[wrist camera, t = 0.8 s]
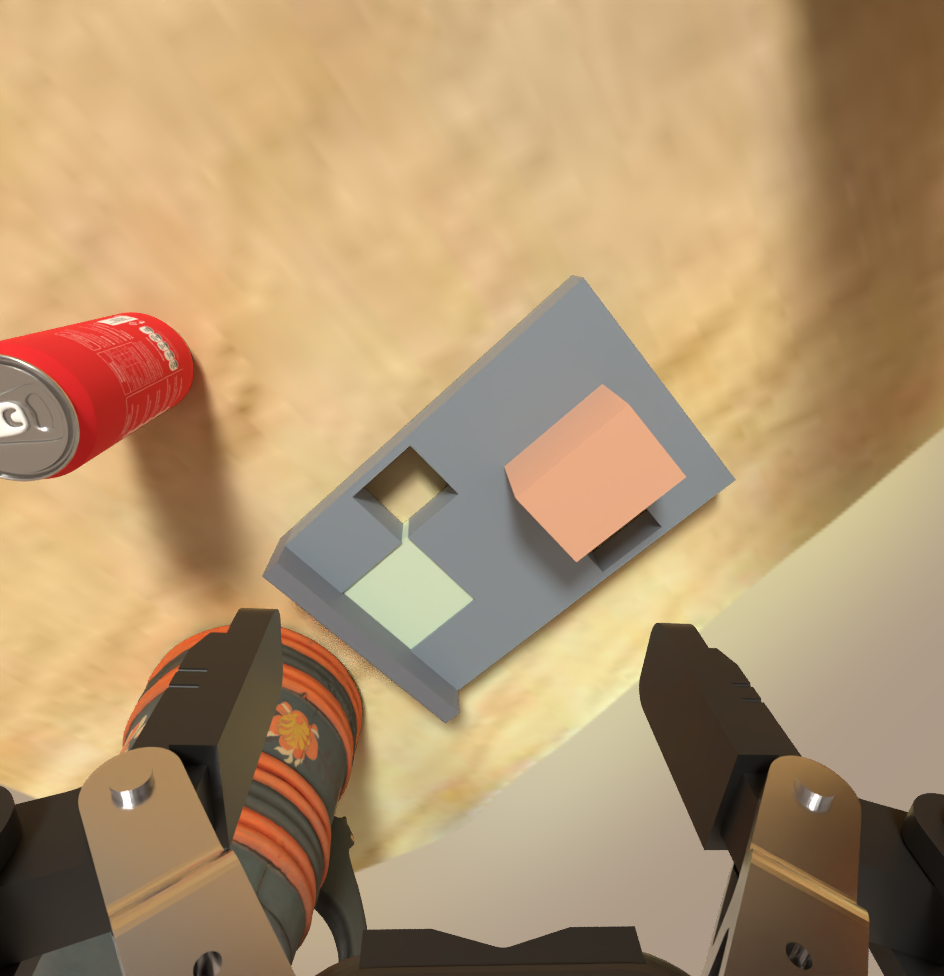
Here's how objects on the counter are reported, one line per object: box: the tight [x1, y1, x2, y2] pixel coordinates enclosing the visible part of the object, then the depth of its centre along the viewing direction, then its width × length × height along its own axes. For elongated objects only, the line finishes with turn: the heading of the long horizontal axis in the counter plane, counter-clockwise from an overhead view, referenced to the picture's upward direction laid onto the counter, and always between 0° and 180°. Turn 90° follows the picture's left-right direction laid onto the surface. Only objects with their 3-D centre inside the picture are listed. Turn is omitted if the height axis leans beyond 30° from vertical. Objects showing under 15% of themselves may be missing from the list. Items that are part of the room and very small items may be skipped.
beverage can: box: [0, 313, 193, 481], centre depth 26 cm, size 5×5×12 cm
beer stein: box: [32, 625, 367, 976], centre depth 33 cm, size 19×15×20 cm
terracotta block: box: [504, 384, 686, 562], centre depth 31 cm, size 7×5×4 cm
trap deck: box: [262, 276, 735, 723], centre depth 35 cm, size 23×15×4 cm, turn 132°
